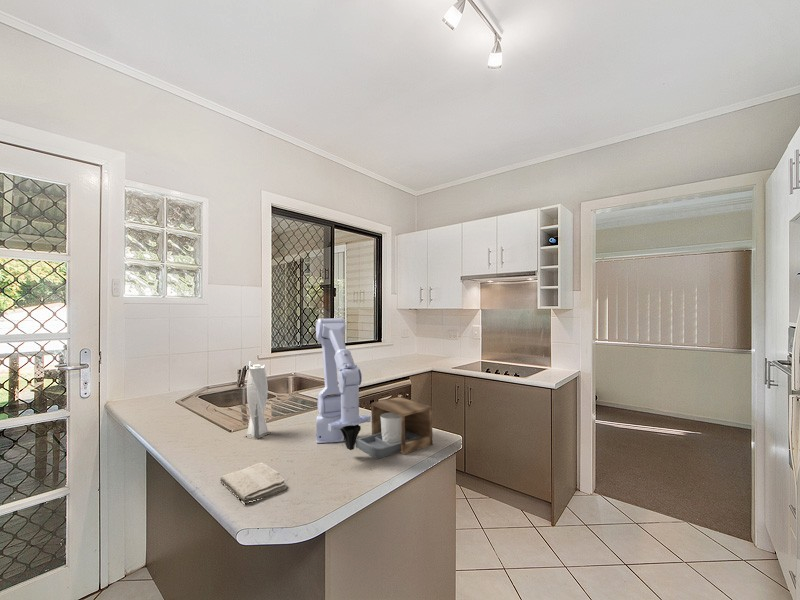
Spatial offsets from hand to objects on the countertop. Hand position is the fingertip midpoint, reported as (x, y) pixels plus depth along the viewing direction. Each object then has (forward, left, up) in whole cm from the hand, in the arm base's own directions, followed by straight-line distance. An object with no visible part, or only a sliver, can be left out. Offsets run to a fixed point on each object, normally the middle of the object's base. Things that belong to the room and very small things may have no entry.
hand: (350, 448), depth 113 cm
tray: (+13, +7, -3) cm, 16 cm away
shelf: (+18, +10, -3) cm, 21 cm away
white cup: (+14, +8, -3) cm, 17 cm away
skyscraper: (-35, +28, -3) cm, 45 cm away
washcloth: (-26, -14, -4) cm, 30 cm away
